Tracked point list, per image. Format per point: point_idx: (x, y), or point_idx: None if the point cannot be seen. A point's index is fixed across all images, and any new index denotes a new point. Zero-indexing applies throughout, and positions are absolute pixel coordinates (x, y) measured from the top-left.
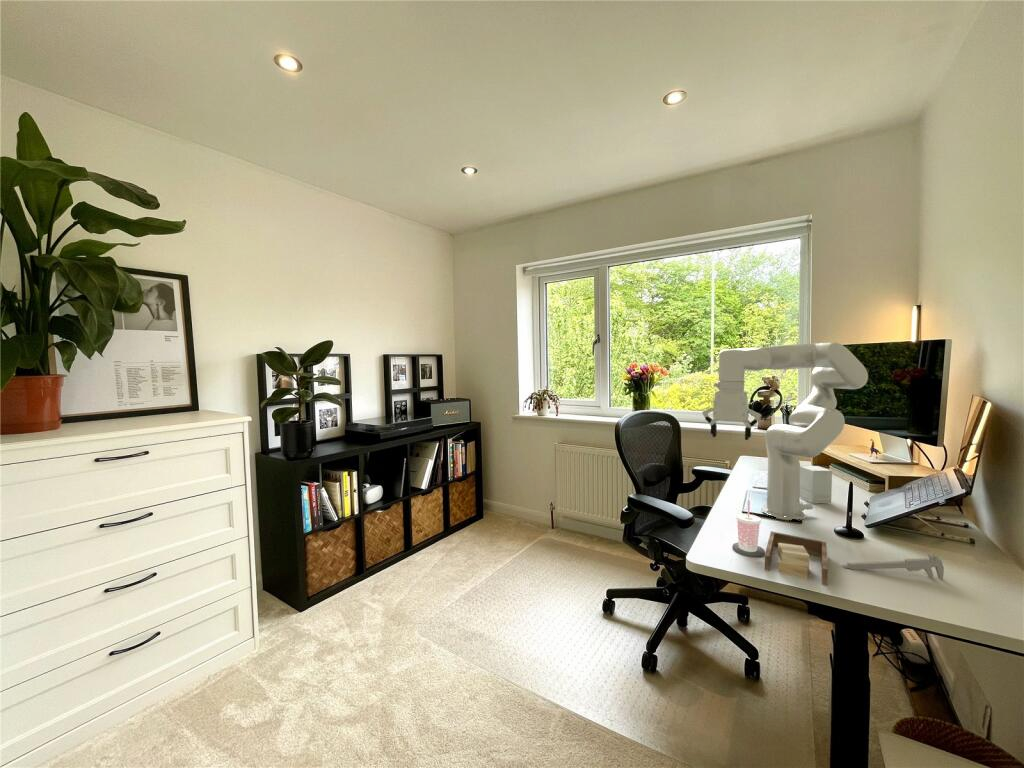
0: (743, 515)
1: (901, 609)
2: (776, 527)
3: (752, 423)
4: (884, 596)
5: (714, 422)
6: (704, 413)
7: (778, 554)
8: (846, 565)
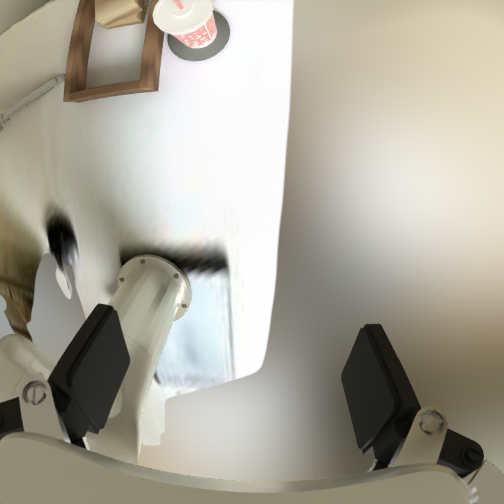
0: (194, 17)
1: (41, 11)
2: (153, 202)
3: (13, 414)
4: (45, 27)
5: (411, 440)
6: (497, 485)
7: (142, 5)
8: (59, 79)
